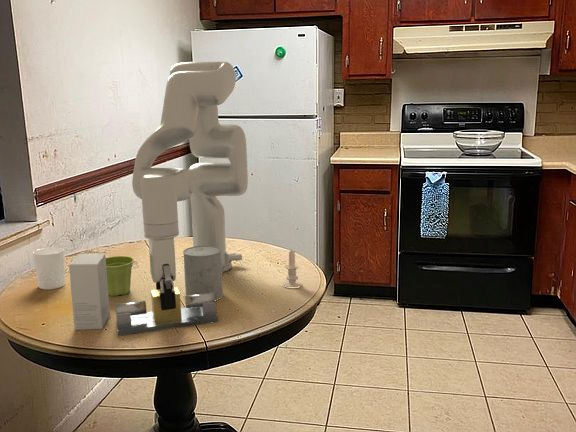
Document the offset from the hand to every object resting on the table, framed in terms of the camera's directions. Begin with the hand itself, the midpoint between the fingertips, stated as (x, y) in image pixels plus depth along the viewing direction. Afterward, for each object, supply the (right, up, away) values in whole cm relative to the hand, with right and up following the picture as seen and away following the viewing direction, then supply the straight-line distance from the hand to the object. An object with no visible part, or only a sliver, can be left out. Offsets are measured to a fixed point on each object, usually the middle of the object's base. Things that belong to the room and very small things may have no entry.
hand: (166, 301), depth 129 cm
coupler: (0, -4, +1) cm, 4 cm away
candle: (+29, 0, +24) cm, 38 cm away
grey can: (+6, -1, +16) cm, 18 cm away
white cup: (-37, 0, +26) cm, 45 cm away
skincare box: (-17, -5, 0) cm, 18 cm away
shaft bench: (0, -5, +1) cm, 5 cm away
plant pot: (-17, -1, +20) cm, 26 cm away
